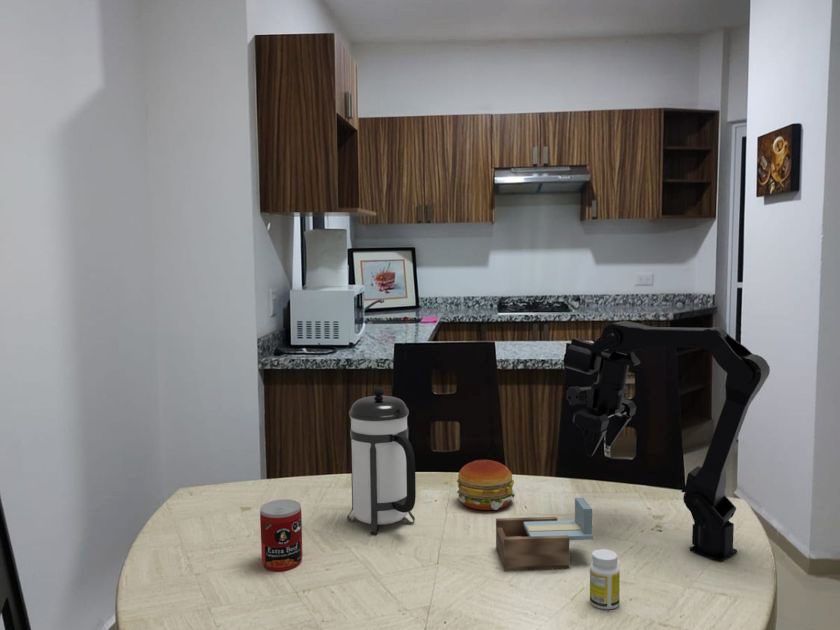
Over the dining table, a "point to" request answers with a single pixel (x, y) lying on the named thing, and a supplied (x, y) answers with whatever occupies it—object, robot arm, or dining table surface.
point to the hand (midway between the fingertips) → (598, 450)
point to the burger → (485, 485)
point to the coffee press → (381, 461)
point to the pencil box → (529, 546)
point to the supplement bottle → (604, 579)
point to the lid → (566, 524)
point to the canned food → (281, 534)
